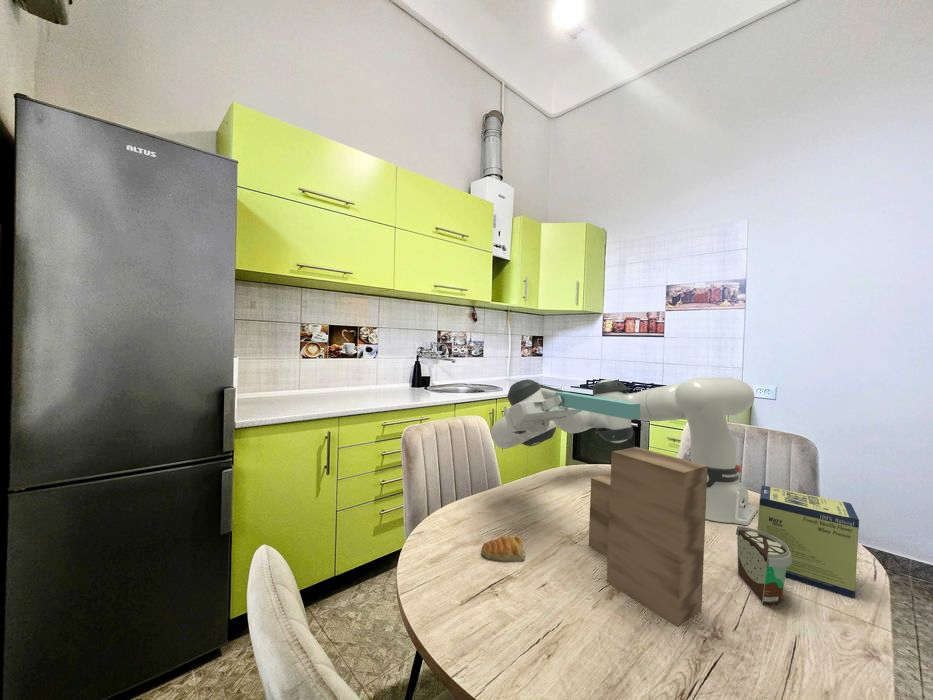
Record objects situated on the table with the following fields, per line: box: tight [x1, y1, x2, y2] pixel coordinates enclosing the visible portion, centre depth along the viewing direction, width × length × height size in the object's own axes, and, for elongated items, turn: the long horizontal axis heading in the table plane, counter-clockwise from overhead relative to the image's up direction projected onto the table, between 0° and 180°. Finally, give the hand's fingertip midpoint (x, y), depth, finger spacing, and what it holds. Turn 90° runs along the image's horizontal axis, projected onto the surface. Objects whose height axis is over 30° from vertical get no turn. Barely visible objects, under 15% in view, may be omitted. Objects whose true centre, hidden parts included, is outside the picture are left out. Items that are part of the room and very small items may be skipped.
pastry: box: [481, 535, 526, 562], centre depth 85 cm, size 9×7×4 cm
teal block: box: [555, 391, 640, 421], centre depth 84 cm, size 3×20×3 cm, turn 33°
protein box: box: [756, 485, 860, 599], centre depth 82 cm, size 10×16×16 cm
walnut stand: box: [588, 446, 707, 627], centre depth 80 cm, size 18×25×26 cm
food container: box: [735, 525, 792, 607], centre depth 75 cm, size 12×6×10 cm, turn 168°
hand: (568, 398), depth 90 cm, fingers closed on teal block, 3 cm apart
